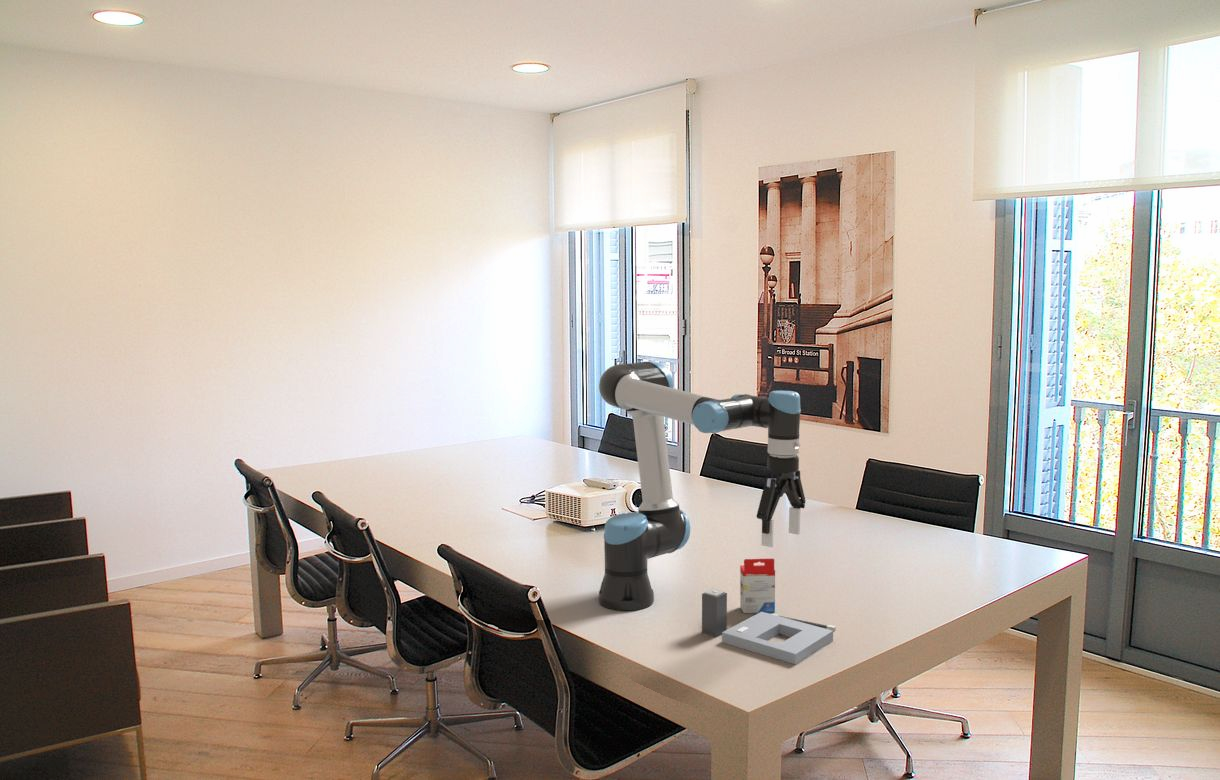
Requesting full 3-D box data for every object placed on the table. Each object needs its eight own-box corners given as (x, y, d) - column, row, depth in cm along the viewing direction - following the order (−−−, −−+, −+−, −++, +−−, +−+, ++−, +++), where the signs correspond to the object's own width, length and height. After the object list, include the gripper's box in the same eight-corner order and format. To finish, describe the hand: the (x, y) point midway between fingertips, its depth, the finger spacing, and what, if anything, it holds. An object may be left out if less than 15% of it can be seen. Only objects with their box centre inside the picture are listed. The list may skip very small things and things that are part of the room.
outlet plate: (722, 642, 218) (722, 631, 217) (761, 620, 231) (761, 610, 231) (795, 664, 205) (795, 653, 204) (833, 640, 218) (833, 629, 218)
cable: (770, 617, 233) (770, 614, 233) (772, 616, 234) (772, 613, 234) (834, 631, 224) (834, 627, 224) (836, 629, 225) (836, 626, 225)
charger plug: (701, 632, 224) (702, 591, 222) (711, 627, 227) (712, 586, 226) (716, 637, 221) (716, 595, 219) (726, 632, 224) (727, 590, 223)
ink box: (771, 606, 241) (771, 553, 240) (775, 613, 237) (775, 558, 235) (739, 607, 241) (740, 553, 239) (742, 613, 236) (743, 559, 235)
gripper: (771, 465, 207) (769, 554, 210) (820, 448, 226) (818, 531, 229) (743, 460, 212) (741, 548, 214) (793, 445, 231) (791, 525, 234)
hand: (781, 539), depth 222 cm, fingers open, 13 cm apart
